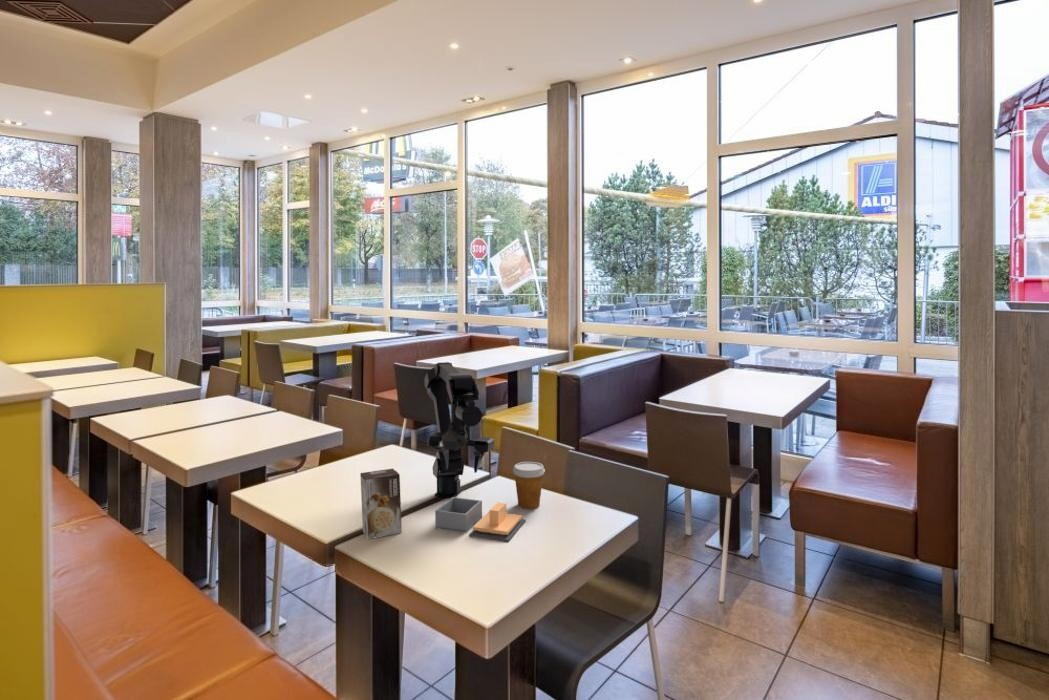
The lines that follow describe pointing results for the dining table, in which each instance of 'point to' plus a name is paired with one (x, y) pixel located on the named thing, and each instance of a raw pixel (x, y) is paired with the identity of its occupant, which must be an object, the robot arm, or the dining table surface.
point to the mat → (497, 536)
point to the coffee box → (381, 503)
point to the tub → (458, 514)
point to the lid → (497, 521)
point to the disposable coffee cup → (528, 483)
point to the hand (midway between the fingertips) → (461, 470)
